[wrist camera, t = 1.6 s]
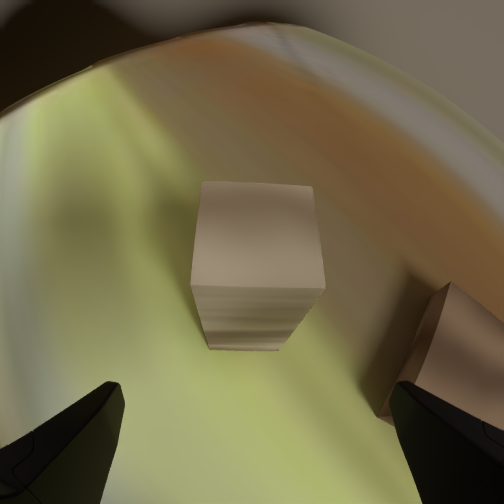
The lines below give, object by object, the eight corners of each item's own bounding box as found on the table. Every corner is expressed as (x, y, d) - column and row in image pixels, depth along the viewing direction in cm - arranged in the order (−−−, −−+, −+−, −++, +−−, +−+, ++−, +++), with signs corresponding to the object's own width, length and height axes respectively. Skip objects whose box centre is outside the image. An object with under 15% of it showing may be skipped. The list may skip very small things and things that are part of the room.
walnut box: (464, 462, 17) (493, 463, 13) (374, 416, 20) (399, 415, 16) (501, 354, 22) (527, 343, 19) (426, 299, 25) (450, 281, 21)
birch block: (278, 350, 22) (325, 288, 11) (209, 349, 21) (190, 284, 11) (276, 288, 24) (311, 186, 14) (212, 287, 24) (202, 180, 13)
